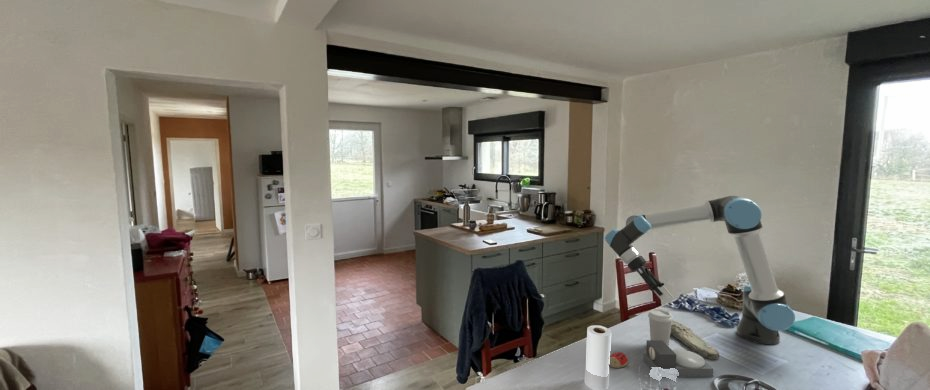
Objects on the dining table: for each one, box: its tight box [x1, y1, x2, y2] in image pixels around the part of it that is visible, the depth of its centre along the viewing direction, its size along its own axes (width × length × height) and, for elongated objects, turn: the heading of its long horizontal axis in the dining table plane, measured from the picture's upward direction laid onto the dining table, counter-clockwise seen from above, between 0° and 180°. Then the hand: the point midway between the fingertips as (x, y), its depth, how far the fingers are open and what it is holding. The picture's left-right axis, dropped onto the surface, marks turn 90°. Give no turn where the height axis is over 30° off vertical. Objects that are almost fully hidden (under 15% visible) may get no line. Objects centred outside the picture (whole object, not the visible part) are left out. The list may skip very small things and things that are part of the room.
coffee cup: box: [647, 308, 674, 348], centre depth 160 cm, size 10×10×15 cm
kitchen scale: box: [642, 339, 714, 378], centre depth 144 cm, size 20×12×8 cm, turn 88°
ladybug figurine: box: [609, 351, 629, 369], centre depth 148 cm, size 7×10×4 cm
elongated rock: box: [670, 320, 720, 361], centre depth 167 cm, size 35×5×10 cm
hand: (670, 301), depth 158 cm, fingers open, 13 cm apart
